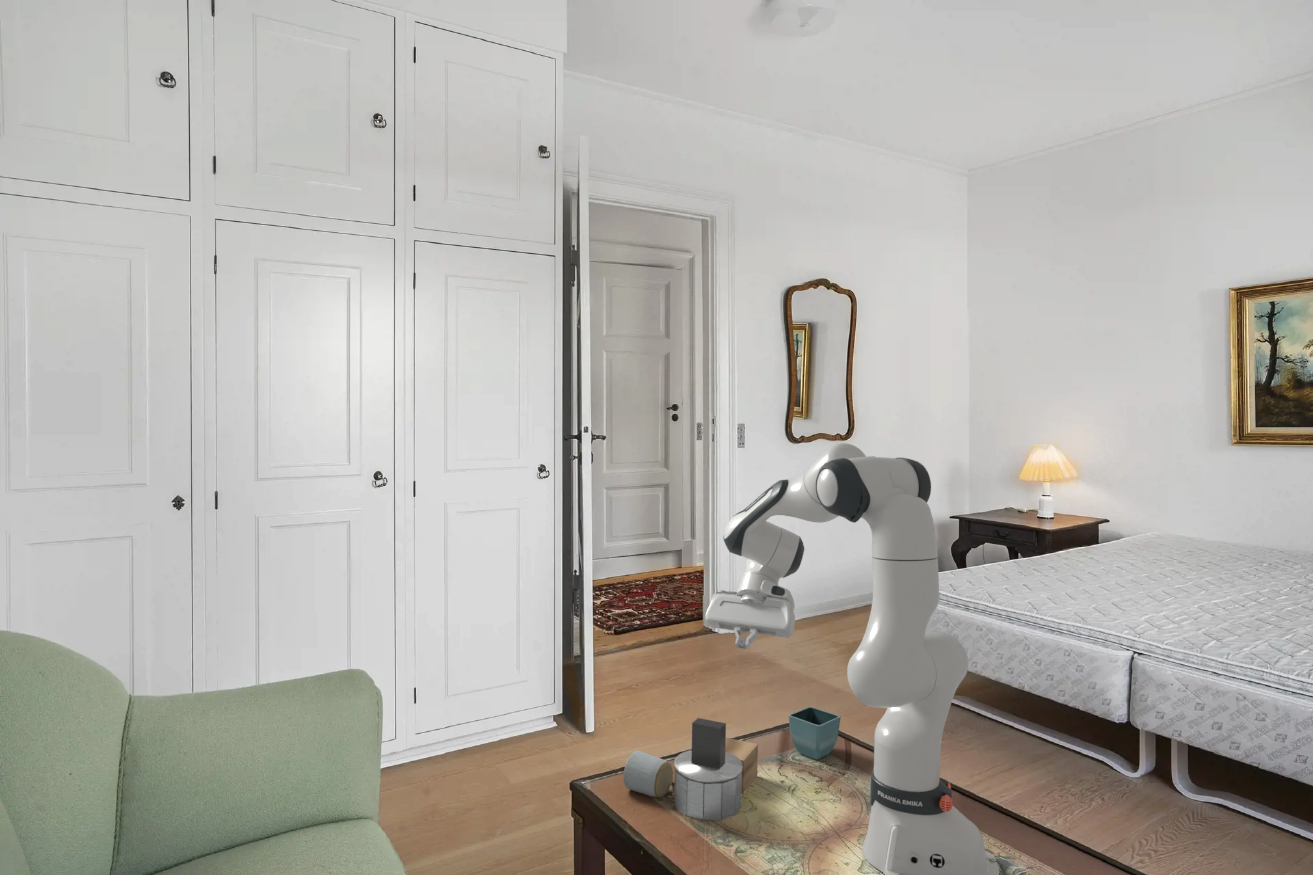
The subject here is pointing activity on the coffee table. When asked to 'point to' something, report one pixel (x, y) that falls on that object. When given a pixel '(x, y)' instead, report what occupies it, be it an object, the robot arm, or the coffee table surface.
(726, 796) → the pot
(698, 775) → the lid
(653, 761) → the ceramic mug
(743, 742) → the tan block
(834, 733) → the flower pot
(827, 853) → the coffee table surface
